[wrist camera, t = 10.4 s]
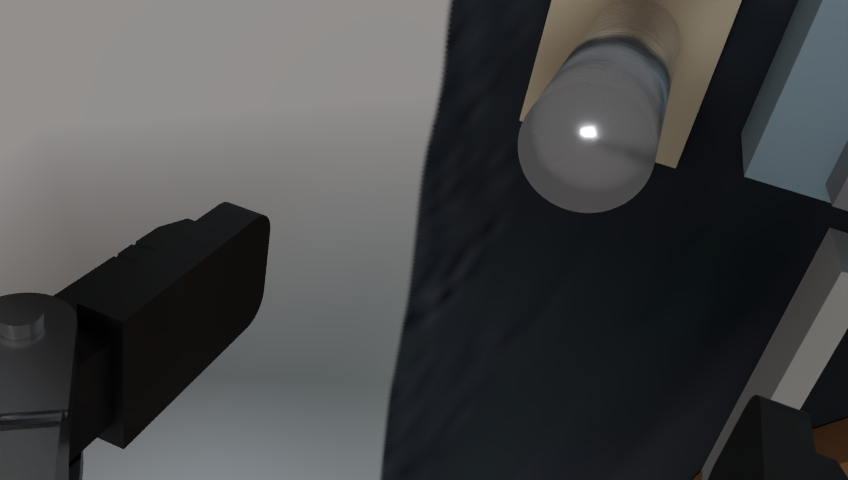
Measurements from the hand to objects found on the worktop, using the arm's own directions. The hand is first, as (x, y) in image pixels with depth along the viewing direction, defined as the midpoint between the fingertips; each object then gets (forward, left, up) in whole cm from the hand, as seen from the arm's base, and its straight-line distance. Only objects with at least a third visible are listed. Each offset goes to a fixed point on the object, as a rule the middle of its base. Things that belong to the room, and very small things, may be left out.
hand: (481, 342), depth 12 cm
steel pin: (0, 0, -23) cm, 23 cm away
